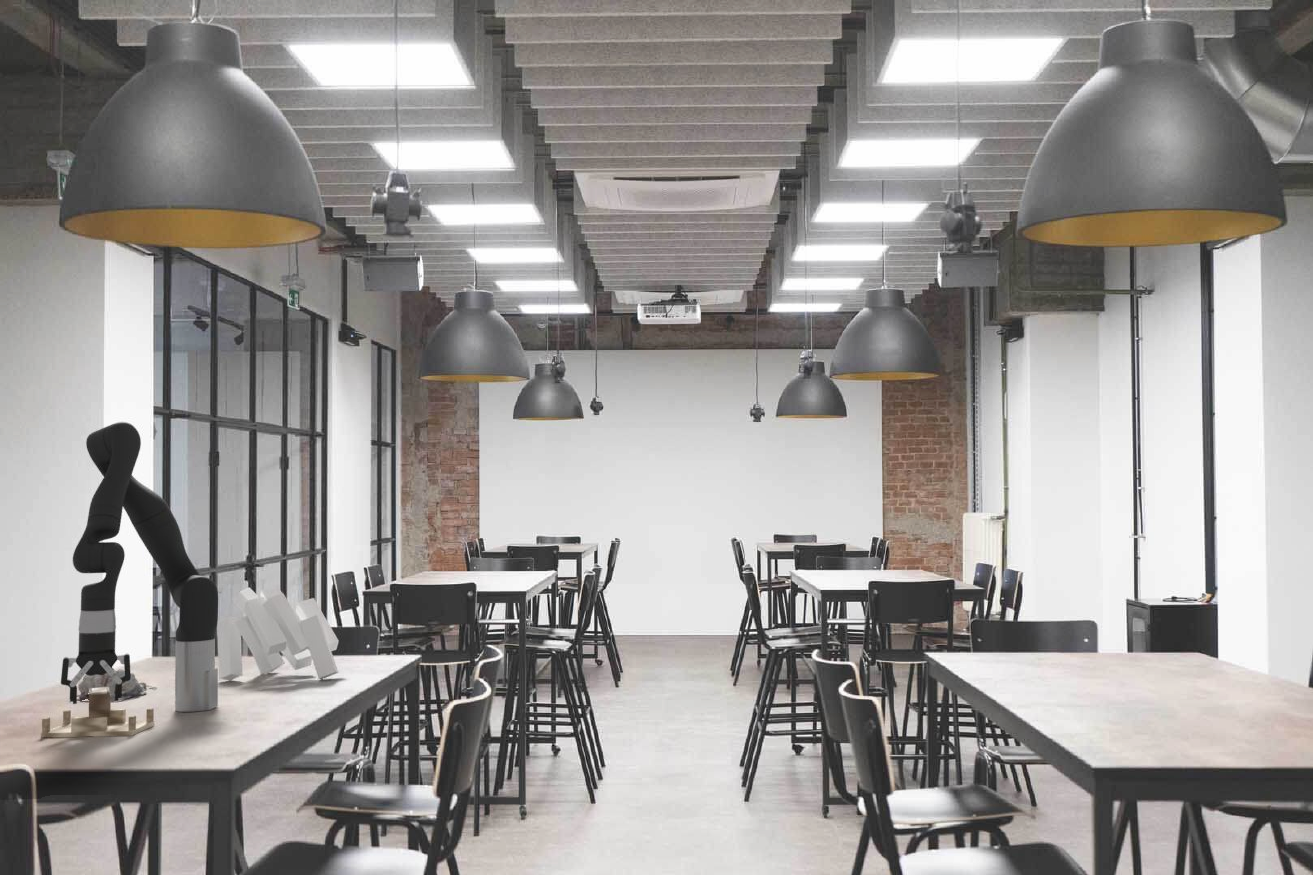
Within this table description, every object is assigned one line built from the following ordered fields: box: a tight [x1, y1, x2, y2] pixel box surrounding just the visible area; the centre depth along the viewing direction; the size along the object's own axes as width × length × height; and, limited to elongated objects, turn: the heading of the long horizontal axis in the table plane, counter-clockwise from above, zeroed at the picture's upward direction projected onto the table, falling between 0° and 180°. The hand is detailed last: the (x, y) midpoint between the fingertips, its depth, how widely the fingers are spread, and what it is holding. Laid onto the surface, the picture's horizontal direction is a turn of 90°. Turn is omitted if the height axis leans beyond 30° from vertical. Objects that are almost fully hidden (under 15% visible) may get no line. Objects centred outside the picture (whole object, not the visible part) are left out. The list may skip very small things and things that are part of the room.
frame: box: [88, 687, 112, 719], centre depth 262 cm, size 4×12×5 cm, turn 26°
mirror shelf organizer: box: [40, 707, 155, 738], centre depth 262 cm, size 20×12×4 cm, turn 91°
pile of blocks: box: [216, 585, 340, 681], centre depth 343 cm, size 35×30×35 cm
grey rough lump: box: [68, 668, 157, 703], centre depth 315 cm, size 19×10×30 cm
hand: (95, 701), depth 262 cm, fingers open, 8 cm apart
